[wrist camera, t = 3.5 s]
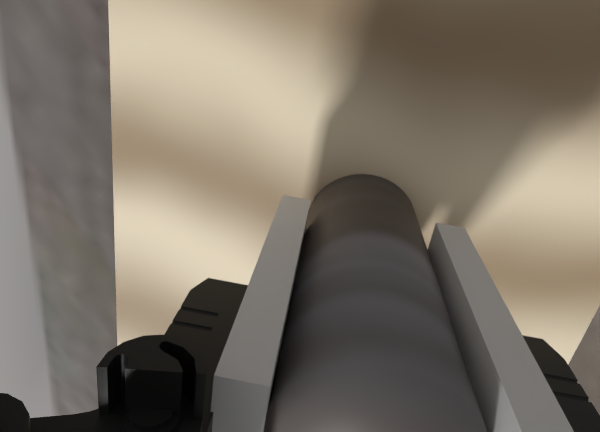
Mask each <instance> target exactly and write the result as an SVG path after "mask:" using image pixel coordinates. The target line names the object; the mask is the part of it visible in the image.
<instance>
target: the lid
mask: <svg viewBox="0 0 600 432" xmlns="http://www.w3.org/2000/svg"><path fill="white" fill-rule="evenodd" d="M108 6H109V44H110V82H111V120H112V157H113V195H114V233H115V271H116V309H117V346H118V345H120V344H121V343H123V342H125V341H128V340H131V339H134V338H138V337H141V336H146V335H164V334H165V333H166V331H167V329H168V327H169V326H170V324H172V322H173V319H174V317H175V315H176V314H177V312H178V310H180V308H181V305H182V303H183V302H184V300H185V298H186V297H187V295H188V293H189V291H190V290H191V289H192V288H194V287H195V286H197V285H198V284H200V283H201V282H203V281H204V280H206V279H207V278H212V279H217V280H223V281H228V282H233V283H239V284H244V285H248V284H249V282H250V279H251V276H252V274H253V271H254V269H255V266H256V263H257V261H258V258H259V255H260V253H261V250H262V247H263V245H264V242H265V240H266V237H267V234H268V232H269V229H270V226H271V224H272V221H273V219H274V216H275V213H276V211H277V208H278V205H279V203H280V200H281V197H282V195H286V196H292V197H297V198H303V199H308V200H310V206H309V212H308V217H307V223H306V229H305V234H304V239H303V244H302V248H301V253H300V258H299V262H298V267H297V272H296V277H295V281H294V286H293V291H292V296H291V300H290V305H289V310H288V315H287V319H286V324H285V329H284V334H283V338H282V343H281V348H280V353H279V357H278V362H277V367H276V371H275V376H274V381H273V386H272V390H271V395H270V400H269V405H268V409H267V414H266V420H265V426H264V432H487V429H486V426H485V423H484V420H483V417H482V414H481V411H480V408H479V405H478V402H477V399H476V396H475V393H474V390H473V387H472V384H471V381H470V378H469V375H468V372H467V369H466V366H465V362H464V359H463V356H462V353H461V350H460V347H459V344H458V341H457V338H456V335H455V332H454V329H453V326H452V323H451V320H450V317H449V314H448V311H447V308H446V305H445V302H444V299H443V296H442V293H441V289H440V286H439V283H438V280H437V277H436V274H435V271H434V268H433V265H432V262H431V259H430V256H429V253H428V247H429V243H430V240H431V237H432V234H433V231H434V227H435V224H436V223H440V224H446V225H451V226H457V227H462V228H465V230H466V231H467V233H468V235H469V237H470V239H471V241H472V243H473V244H474V246H475V248H476V250H477V252H478V254H479V256H480V258H481V259H482V261H483V263H484V265H485V267H486V269H487V271H488V272H489V274H490V276H491V278H492V280H493V282H494V284H495V285H496V287H497V289H498V291H499V293H500V295H501V297H502V299H503V300H504V302H505V304H506V306H507V308H508V310H509V312H510V313H511V315H512V317H513V319H514V321H515V323H516V325H517V327H518V328H519V330H520V332H521V334H522V335H524V336H529V337H535V338H540V339H543V340H545V341H546V342H547V343H548V344H549V345H550V346H551V347H552V348H553V349H554V350H555V351H556V352H557V353H559V354H560V355H561V356H562V357H563V358H564V359H565V361H566V362H567V364H569V362H570V360H571V358H572V356H573V354H574V353H575V351H576V349H577V347H578V345H579V343H580V341H581V339H582V338H583V336H584V334H585V332H586V330H587V328H588V326H589V324H590V322H591V321H592V319H593V317H594V315H595V313H596V311H597V309H598V307H599V306H600V0H108Z"/></svg>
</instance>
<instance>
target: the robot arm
mask: <svg viewBox="0 0 600 432" xmlns="http://www.w3.org/2000/svg"><path fill="white" fill-rule="evenodd" d="M309 206H310V200H308V199H303V198H297V197H292V196H286V195H282V197H281V200H280V203H279V205H278V208H277V211H276V213H275V216H274V219H273V221H272V224H271V226H270V229H269V232H268V234H267V237H266V240H265V242H264V245H263V247H262V250H261V253H260V255H259V258H258V261H257V263H256V266H255V269H254V271H253V274H252V276H251V279H250V282H249V284H248V285H244V284H239V283H233V282H228V281H223V280H217V279H212V278H207V279H206V280H204V281H203V282H201V283H200V284H198V285H197V286H195V287H194V288H192V289H191V290H190V291H189V293H188V295H187V297H186V298H185V300H184V302H183V303H182V305H181V308H180V310H178V312H177V314H176V315H175V317H174V319H173V322H172V324H170V326H169V327H168V329H167V331H166V333H165V334H164V335H146V336H141V337H138V338H134V339H131V340H128V341H125V342H123V343H121V344H120V345H118V346H117V347H115V348H114V349H112V350H111V351H109V352H107V354H106V355H105V356H104V358H103V359H102V360H101V362H100V363H99V364H98V366H97V385H98V404H99V409H96V410H93V411H90V412H85V413H79V414H73V415H62V416H50V417H40V418H30V416H29V413H28V411H27V410H26V408H25V406H24V404H23V402H22V401H20V400H18V399H16V398H14V397H12V396H11V395H9V394H4V393H0V432H264V426H265V420H266V414H267V409H268V405H269V400H270V395H271V390H272V386H273V381H274V376H275V371H276V367H277V362H278V357H279V353H280V348H281V343H282V338H283V334H284V329H285V324H286V319H287V315H288V310H289V305H290V300H291V296H292V291H293V286H294V281H295V277H296V272H297V267H298V262H299V258H300V253H301V248H302V244H303V239H304V234H305V229H306V223H307V217H308V212H309ZM428 253H429V256H430V259H431V262H432V265H433V268H434V271H435V274H436V277H437V280H438V283H439V286H440V289H441V293H442V296H443V299H444V302H445V305H446V308H447V311H448V314H449V317H450V320H451V323H452V326H453V329H454V332H455V335H456V338H457V341H458V344H459V347H460V350H461V353H462V356H463V359H464V362H465V366H466V369H467V372H468V375H469V378H470V381H471V384H472V387H473V390H474V393H475V396H476V399H477V402H478V405H479V408H480V411H481V414H482V417H483V420H484V423H485V426H486V429H487V432H600V415H599V414H598V412H597V411H596V409H595V407H594V406H593V404H592V403H591V402H588V396H587V395H586V393H585V391H584V390H583V388H582V387H581V385H580V384H577V379H576V377H575V375H574V374H573V372H572V370H571V369H570V367H569V366H568V364H567V362H566V361H565V359H564V358H563V357H562V356H561V355H560V354H559V353H557V352H556V351H555V350H554V349H553V348H552V347H551V346H550V345H549V344H548V343H547V342H546V341H545V340H543V339H540V338H535V337H529V336H524V335H522V334H521V332H520V330H519V328H518V327H517V325H516V323H515V321H514V319H513V317H512V315H511V313H510V312H509V310H508V308H507V306H506V304H505V302H504V300H503V299H502V297H501V295H500V293H499V291H498V289H497V287H496V285H495V284H494V282H493V280H492V278H491V276H490V274H489V272H488V271H487V269H486V267H485V265H484V263H483V261H482V259H481V258H480V256H479V254H478V252H477V250H476V248H475V246H474V244H473V243H472V241H471V239H470V237H469V235H468V233H467V231H466V230H465V228H462V227H457V226H451V225H446V224H440V223H436V224H435V227H434V231H433V234H432V237H431V240H430V243H429V247H428Z"/></svg>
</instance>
